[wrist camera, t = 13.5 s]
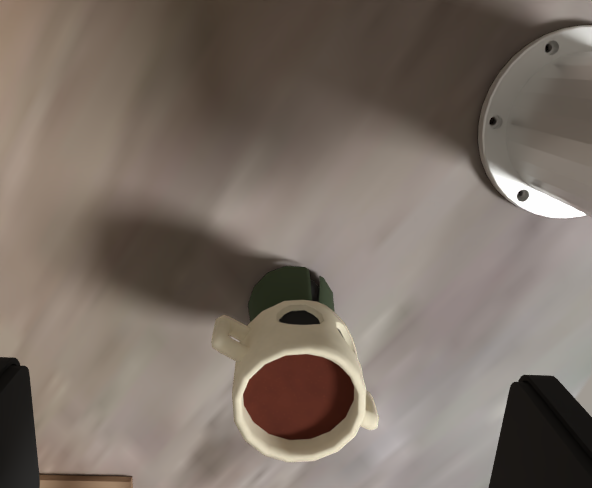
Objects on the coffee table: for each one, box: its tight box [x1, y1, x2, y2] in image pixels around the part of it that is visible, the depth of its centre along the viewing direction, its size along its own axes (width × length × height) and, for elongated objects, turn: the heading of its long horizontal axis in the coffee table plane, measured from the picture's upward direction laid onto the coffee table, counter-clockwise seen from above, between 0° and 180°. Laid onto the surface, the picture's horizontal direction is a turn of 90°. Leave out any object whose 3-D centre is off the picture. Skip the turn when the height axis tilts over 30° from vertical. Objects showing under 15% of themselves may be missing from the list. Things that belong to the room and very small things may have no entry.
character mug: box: [211, 266, 379, 462], centre depth 35 cm, size 11×7×13 cm, turn 58°
